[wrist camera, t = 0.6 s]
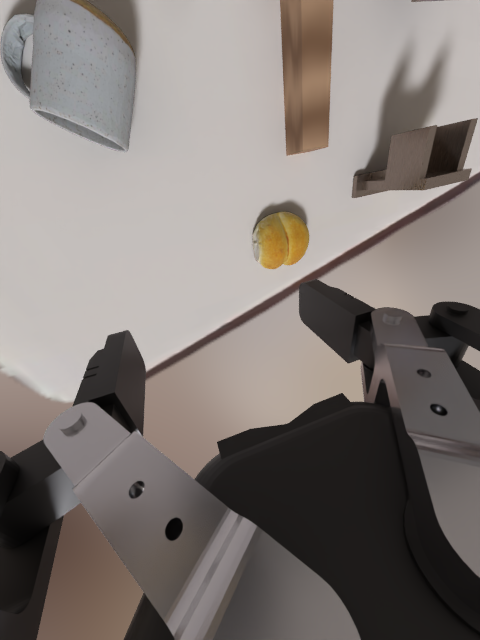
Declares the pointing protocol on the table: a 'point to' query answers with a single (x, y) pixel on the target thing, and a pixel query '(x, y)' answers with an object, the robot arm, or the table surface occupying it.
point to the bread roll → (280, 240)
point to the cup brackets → (421, 159)
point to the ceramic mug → (75, 69)
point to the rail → (306, 72)
